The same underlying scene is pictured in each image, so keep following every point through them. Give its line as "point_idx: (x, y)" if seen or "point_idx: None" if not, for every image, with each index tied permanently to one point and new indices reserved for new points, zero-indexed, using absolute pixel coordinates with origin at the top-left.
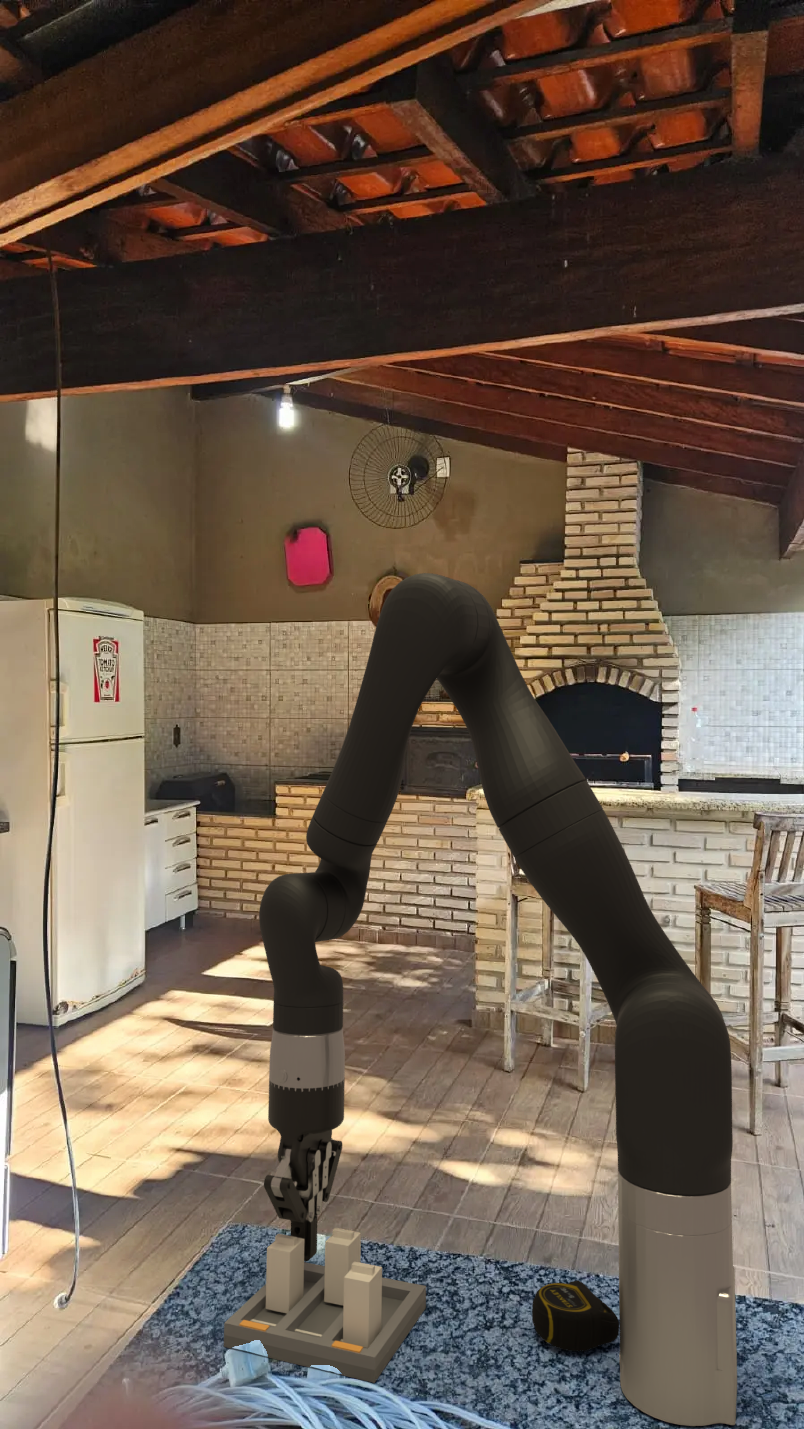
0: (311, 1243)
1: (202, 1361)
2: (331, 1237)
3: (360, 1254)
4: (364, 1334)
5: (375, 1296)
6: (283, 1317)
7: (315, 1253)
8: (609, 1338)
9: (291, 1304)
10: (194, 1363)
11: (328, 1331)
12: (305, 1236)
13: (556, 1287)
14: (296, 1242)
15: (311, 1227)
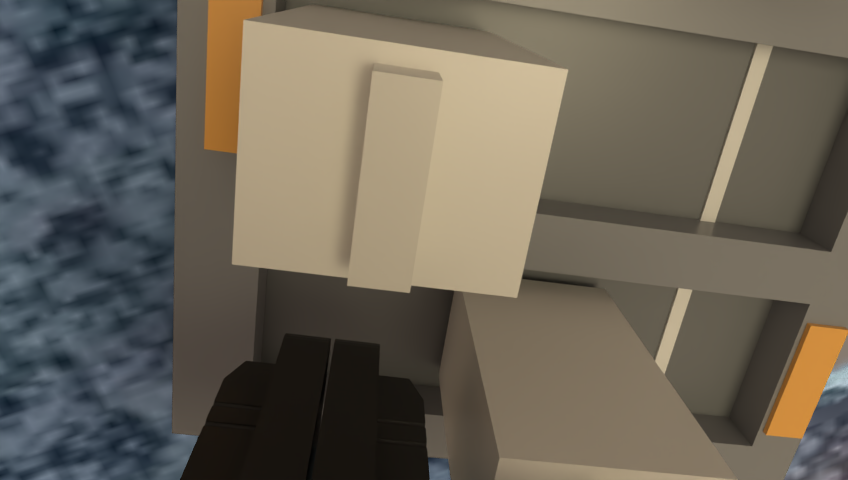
0: (360, 392)
1: (822, 456)
2: (421, 271)
3: (281, 11)
4: None
5: None
6: (723, 293)
7: (298, 335)
8: None
9: (588, 298)
10: (834, 473)
11: (844, 41)
12: (398, 461)
13: None
14: None
15: (368, 472)
